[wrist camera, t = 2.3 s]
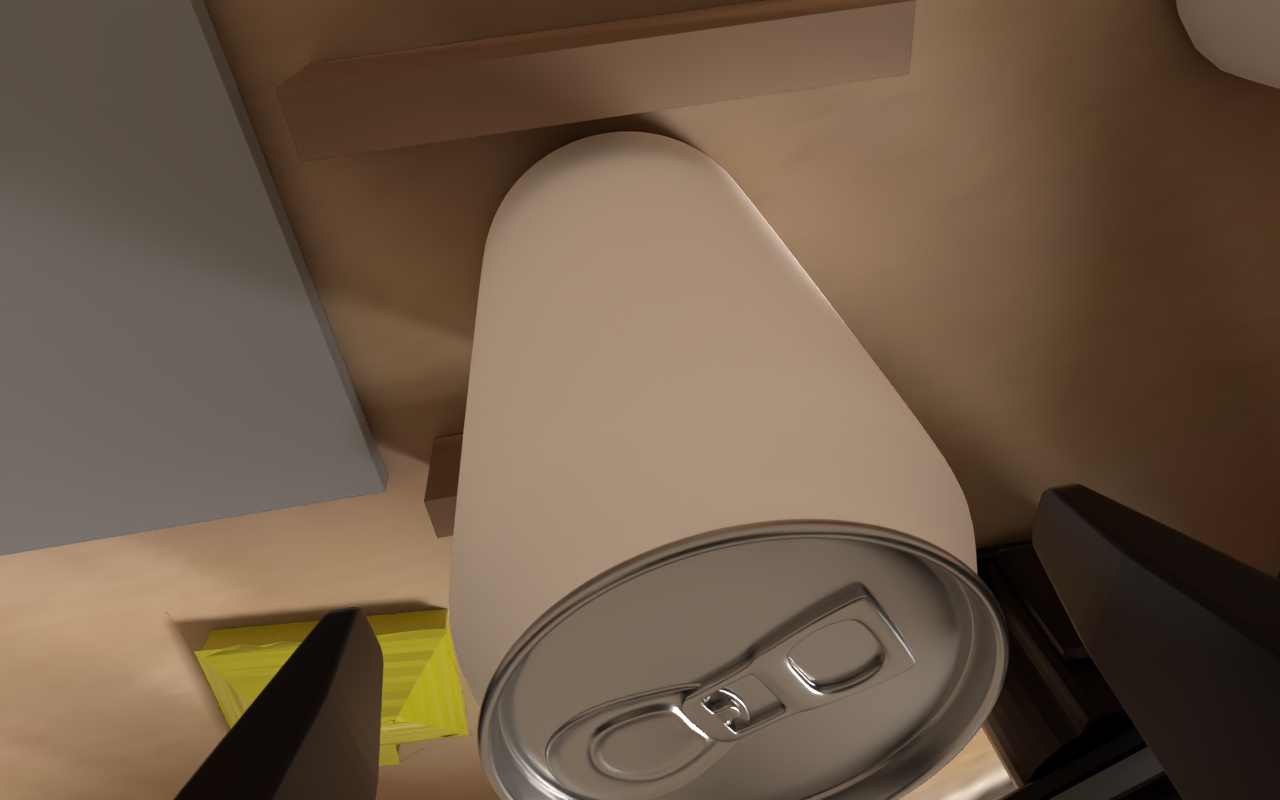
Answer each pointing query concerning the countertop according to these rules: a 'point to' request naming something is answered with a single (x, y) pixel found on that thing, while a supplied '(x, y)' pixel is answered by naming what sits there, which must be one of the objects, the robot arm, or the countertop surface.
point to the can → (698, 510)
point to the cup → (1236, 36)
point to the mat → (152, 290)
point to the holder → (585, 91)
